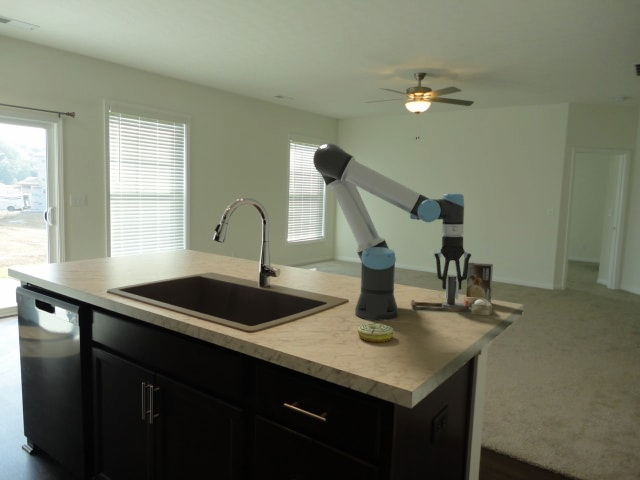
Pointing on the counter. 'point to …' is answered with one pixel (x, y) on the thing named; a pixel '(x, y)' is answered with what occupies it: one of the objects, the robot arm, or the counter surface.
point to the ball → (479, 302)
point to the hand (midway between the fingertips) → (451, 297)
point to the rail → (425, 307)
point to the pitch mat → (441, 311)
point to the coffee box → (479, 281)
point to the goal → (480, 306)
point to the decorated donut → (375, 332)
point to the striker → (453, 295)
